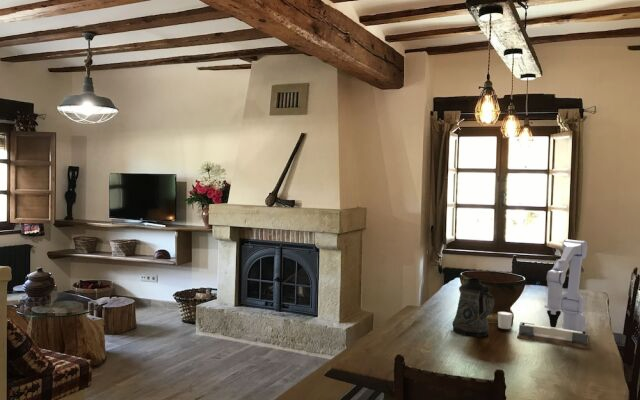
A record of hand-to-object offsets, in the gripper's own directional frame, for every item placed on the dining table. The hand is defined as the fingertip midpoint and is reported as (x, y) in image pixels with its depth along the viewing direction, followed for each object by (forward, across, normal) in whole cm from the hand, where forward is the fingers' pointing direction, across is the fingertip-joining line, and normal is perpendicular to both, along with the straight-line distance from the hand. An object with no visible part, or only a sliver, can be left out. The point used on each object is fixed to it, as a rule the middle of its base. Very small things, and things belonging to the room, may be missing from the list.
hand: (553, 326), depth 243 cm
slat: (+4, 0, 0) cm, 4 cm away
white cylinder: (+6, -11, -22) cm, 25 cm away
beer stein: (+6, +8, -33) cm, 35 cm away
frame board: (+6, 0, 0) cm, 6 cm away
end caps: (+6, 0, 0) cm, 6 cm away
